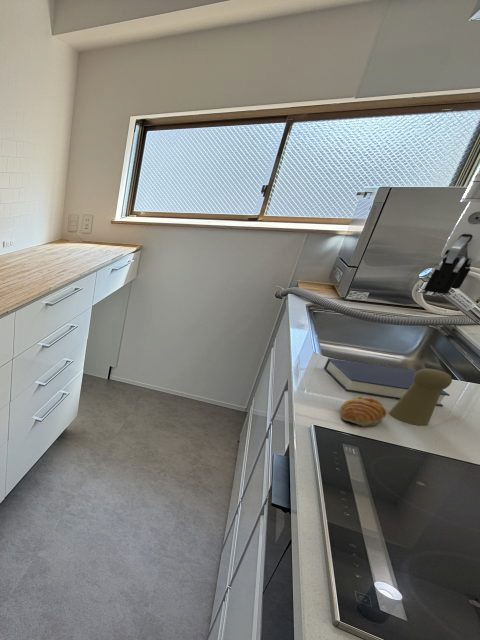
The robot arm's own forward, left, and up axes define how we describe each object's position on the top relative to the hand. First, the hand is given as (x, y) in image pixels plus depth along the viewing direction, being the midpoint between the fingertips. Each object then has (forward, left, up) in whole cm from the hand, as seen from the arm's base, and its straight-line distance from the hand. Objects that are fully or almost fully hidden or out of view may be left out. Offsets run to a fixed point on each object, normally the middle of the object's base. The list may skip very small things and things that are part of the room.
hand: (441, 289), depth 81 cm
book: (-5, -12, -26) cm, 29 cm away
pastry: (+7, +10, -26) cm, 29 cm away
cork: (-3, +5, -26) cm, 27 cm away
